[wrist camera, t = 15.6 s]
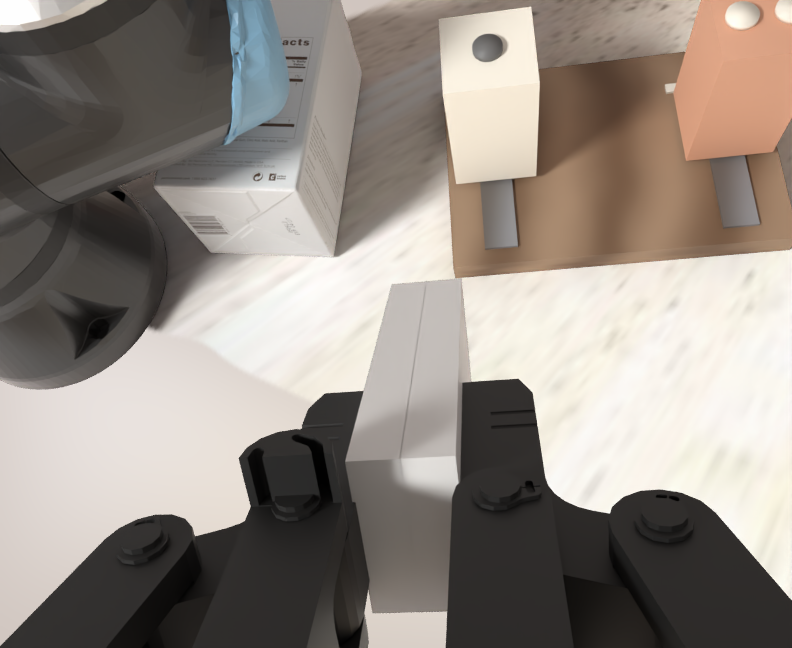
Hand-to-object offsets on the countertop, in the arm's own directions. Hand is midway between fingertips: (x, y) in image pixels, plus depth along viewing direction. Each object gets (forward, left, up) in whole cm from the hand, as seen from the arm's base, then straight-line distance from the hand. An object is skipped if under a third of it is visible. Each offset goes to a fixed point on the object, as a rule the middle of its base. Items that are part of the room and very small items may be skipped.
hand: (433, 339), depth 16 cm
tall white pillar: (+2, +22, -26) cm, 34 cm away
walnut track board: (+9, +21, -28) cm, 36 cm away
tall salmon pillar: (+16, +22, -26) cm, 38 cm away
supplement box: (-13, +16, -23) cm, 32 cm away
